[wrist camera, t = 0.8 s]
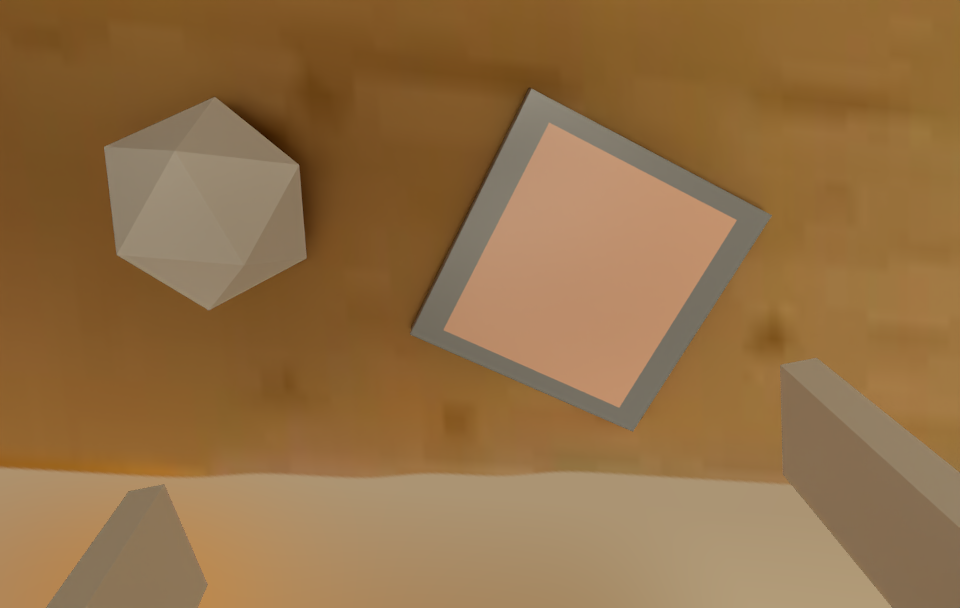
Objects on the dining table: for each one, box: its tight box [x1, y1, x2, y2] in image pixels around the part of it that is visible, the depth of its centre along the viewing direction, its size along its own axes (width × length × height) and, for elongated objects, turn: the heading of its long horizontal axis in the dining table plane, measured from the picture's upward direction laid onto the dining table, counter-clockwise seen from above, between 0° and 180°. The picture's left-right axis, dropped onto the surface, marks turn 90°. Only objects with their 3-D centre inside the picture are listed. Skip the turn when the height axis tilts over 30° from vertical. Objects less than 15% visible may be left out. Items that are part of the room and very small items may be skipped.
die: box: [104, 97, 307, 310], centre depth 30 cm, size 8×9×10 cm
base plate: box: [410, 88, 772, 431], centre depth 35 cm, size 14×14×1 cm
